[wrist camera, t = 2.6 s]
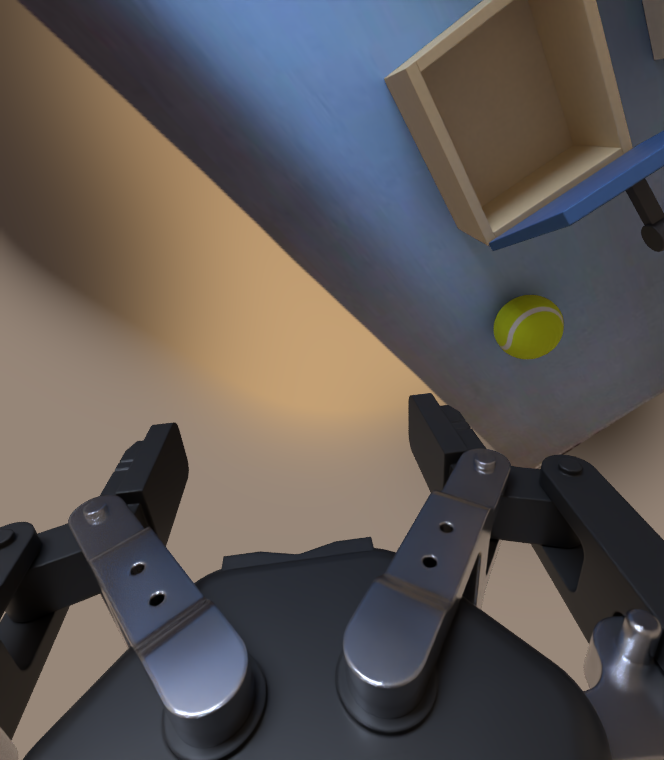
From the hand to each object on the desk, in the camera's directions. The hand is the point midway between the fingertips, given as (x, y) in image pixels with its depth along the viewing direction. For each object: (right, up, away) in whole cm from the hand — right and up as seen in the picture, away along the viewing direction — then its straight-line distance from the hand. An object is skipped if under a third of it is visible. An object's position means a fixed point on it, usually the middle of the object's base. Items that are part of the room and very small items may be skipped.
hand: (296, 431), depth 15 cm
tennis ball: (+21, +9, +33) cm, 40 cm away
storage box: (+15, +25, +23) cm, 37 cm away
